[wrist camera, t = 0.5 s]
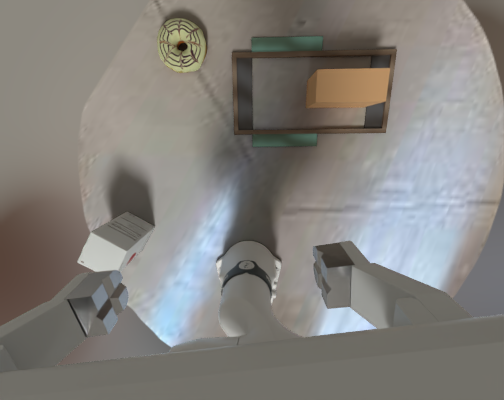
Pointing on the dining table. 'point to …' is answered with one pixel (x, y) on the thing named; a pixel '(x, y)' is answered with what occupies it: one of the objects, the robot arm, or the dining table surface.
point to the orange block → (347, 87)
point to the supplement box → (115, 243)
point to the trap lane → (299, 48)
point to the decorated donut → (176, 34)
